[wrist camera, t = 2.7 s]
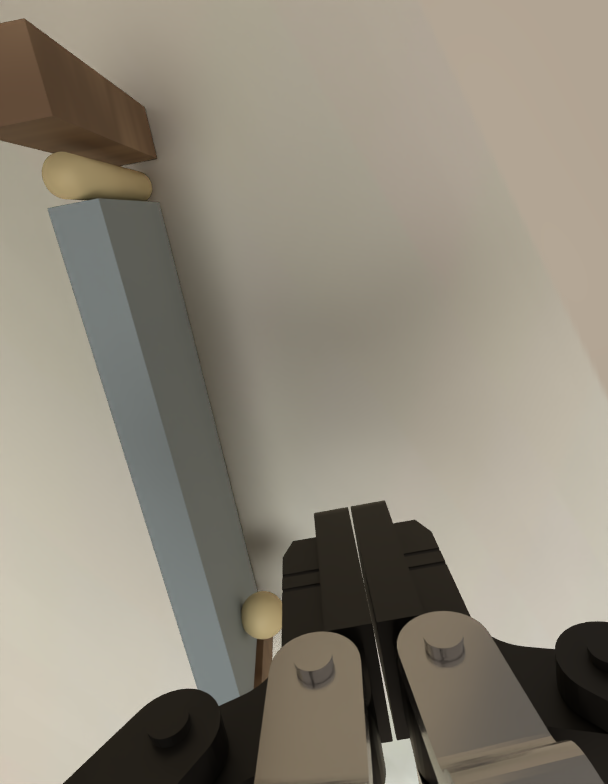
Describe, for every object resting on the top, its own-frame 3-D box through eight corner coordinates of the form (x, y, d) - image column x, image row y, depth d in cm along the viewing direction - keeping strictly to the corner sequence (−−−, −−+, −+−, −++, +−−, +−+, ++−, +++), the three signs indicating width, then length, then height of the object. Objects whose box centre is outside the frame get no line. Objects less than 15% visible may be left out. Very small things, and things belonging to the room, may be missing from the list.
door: (115, 174, 19) (31, 157, 13) (194, 159, 19) (149, 133, 12) (232, 604, 24) (213, 740, 18) (293, 593, 24) (297, 726, 18)
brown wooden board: (97, 116, 19) (-63, 36, 10) (144, 106, 19) (23, 18, 10) (238, 632, 25) (213, 850, 17) (273, 626, 25) (267, 841, 17)
